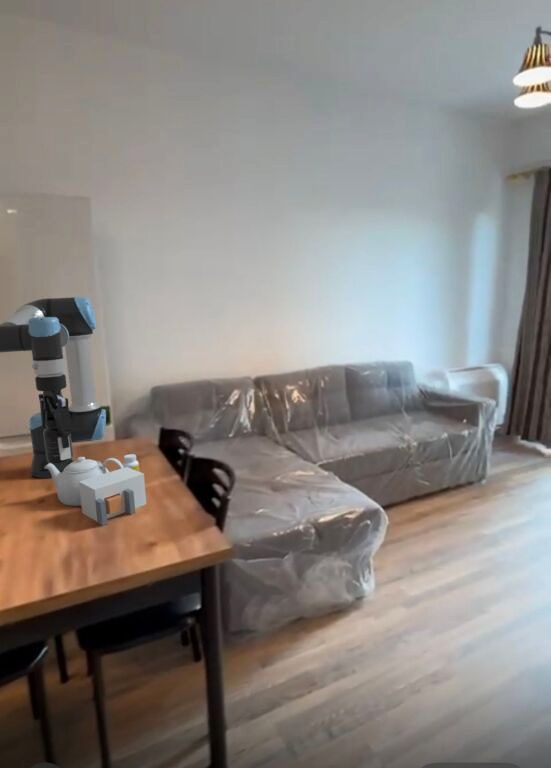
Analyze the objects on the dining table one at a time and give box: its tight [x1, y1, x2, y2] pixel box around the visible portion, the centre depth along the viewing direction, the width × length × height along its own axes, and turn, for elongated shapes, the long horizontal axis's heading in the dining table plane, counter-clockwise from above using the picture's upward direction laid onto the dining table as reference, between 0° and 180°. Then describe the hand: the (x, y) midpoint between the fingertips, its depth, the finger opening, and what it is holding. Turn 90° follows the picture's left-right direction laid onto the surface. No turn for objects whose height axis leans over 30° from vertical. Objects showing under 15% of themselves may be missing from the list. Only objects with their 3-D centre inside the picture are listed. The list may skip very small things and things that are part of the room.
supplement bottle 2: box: [122, 453, 140, 472], centre depth 169 cm, size 5×5×10 cm
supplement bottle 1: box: [43, 417, 74, 463], centre depth 134 cm, size 7×7×12 cm
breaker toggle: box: [104, 494, 123, 514], centre depth 144 cm, size 8×4×4 cm, turn 47°
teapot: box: [44, 456, 123, 507], centre depth 158 cm, size 19×18×14 cm
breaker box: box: [79, 467, 147, 527], centre depth 147 cm, size 13×16×10 cm
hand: (60, 455), depth 135 cm, fingers closed on supplement bottle 1, 7 cm apart
